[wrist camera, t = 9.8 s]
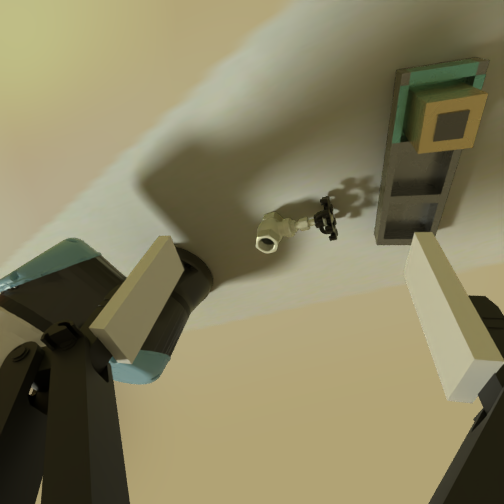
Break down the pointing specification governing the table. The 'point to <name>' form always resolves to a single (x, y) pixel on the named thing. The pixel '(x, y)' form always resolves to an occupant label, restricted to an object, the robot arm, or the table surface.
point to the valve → (293, 227)
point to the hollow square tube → (443, 116)
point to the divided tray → (418, 159)
